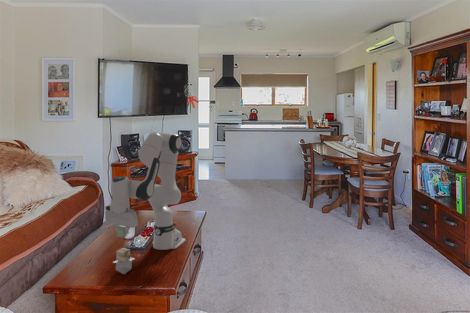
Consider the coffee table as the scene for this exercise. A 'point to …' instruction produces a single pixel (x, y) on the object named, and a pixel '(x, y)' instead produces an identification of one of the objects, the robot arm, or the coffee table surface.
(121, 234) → the pale green rounded lump
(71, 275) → the coffee table surface
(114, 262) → the plan card
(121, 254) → the birch block
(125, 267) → the die
